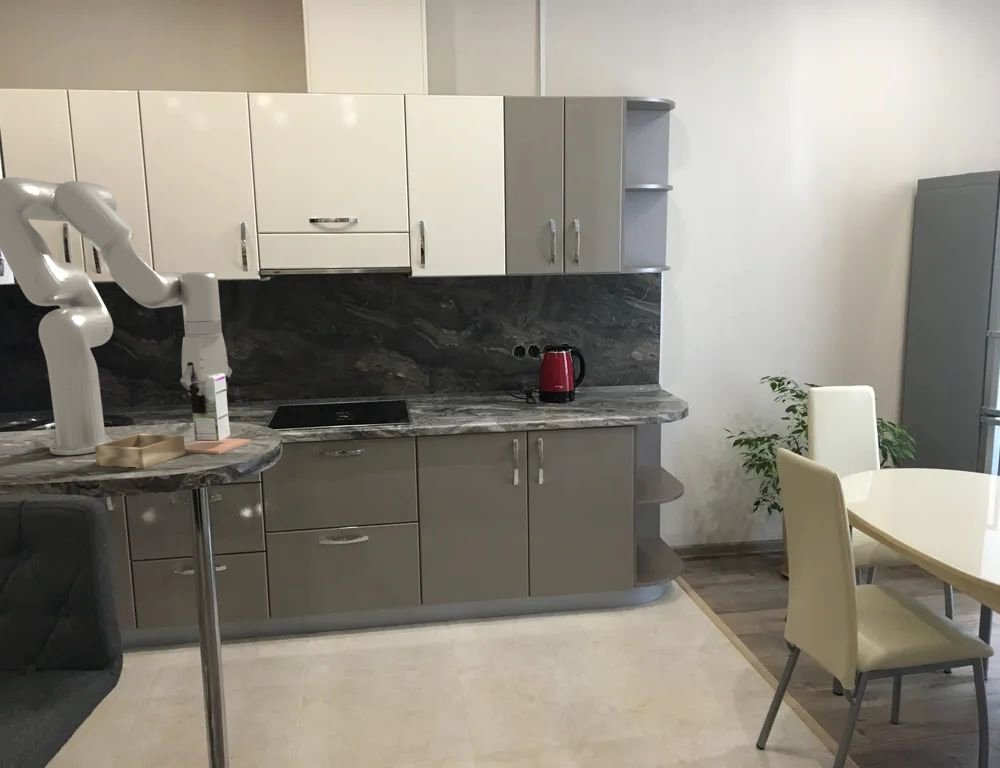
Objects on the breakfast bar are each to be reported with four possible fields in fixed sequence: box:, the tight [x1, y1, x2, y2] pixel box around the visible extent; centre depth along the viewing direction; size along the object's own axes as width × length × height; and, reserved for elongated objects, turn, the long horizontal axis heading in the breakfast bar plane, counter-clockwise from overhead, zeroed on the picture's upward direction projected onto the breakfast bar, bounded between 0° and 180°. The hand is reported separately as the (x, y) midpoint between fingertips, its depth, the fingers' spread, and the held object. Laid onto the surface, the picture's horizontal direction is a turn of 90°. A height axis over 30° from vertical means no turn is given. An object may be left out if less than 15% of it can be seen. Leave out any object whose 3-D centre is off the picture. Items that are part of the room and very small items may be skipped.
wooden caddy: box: [94, 433, 186, 469], centre depth 161 cm, size 12×12×4 cm
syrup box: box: [192, 373, 231, 442], centre depth 169 cm, size 6×6×14 cm
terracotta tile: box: [184, 437, 251, 455], centre depth 171 cm, size 11×11×1 cm
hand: (210, 409), depth 169 cm, fingers closed on syrup box, 6 cm apart
